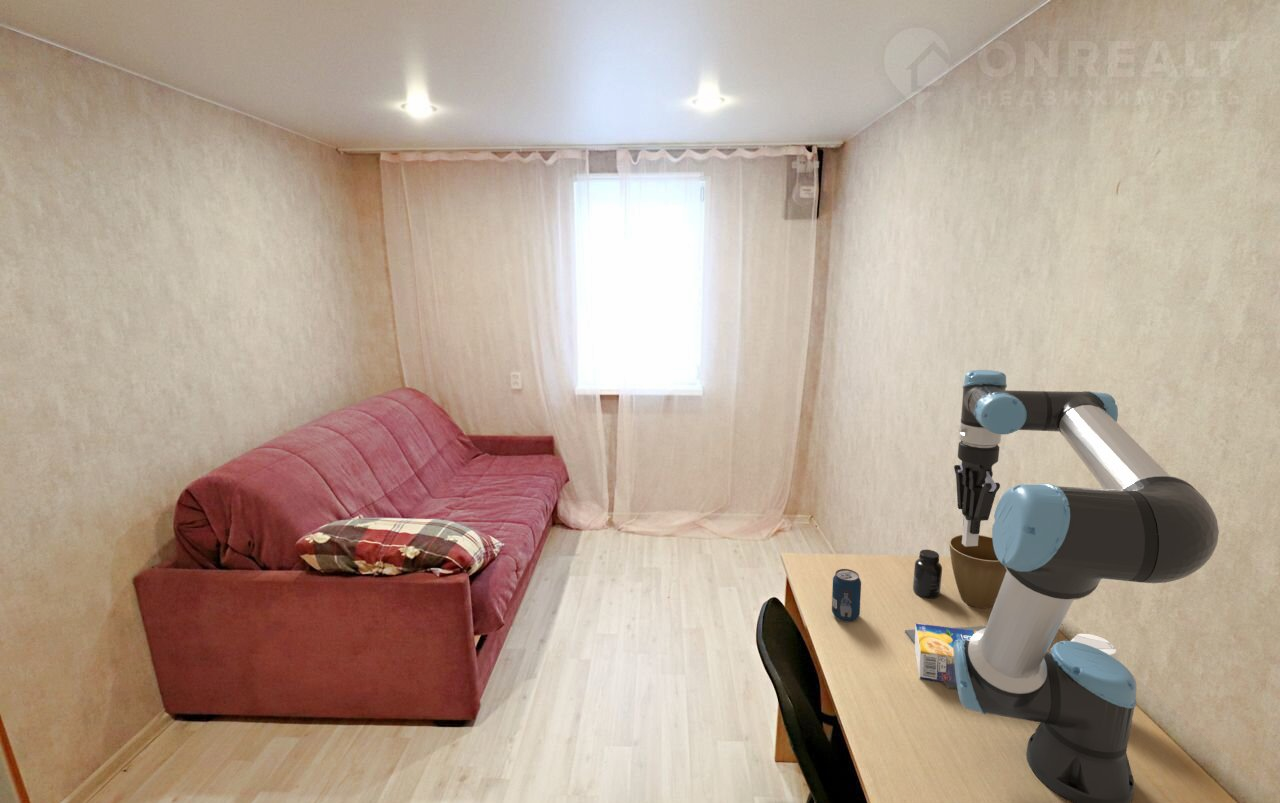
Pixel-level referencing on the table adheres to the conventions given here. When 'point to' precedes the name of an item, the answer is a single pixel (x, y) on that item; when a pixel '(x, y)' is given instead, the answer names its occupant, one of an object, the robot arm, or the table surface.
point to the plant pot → (976, 571)
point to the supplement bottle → (927, 574)
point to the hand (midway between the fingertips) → (969, 544)
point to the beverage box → (937, 651)
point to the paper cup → (1097, 643)
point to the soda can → (846, 595)
